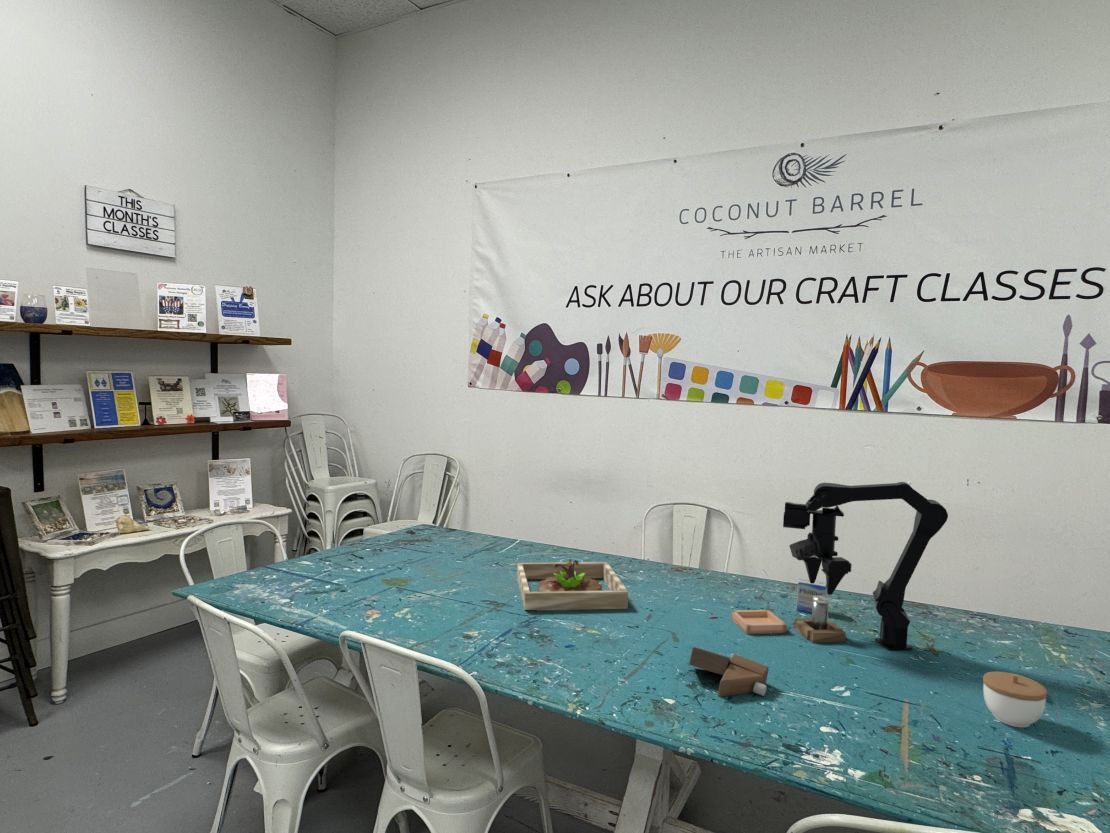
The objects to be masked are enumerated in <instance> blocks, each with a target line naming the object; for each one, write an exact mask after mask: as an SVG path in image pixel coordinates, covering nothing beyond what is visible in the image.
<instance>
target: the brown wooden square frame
mask: <svg viewBox="0 0 1110 833" xmlns="http://www.w3.org/2000/svg"><path fill="white" fill-rule="evenodd" d="M811 622H812V617H810V618H806V617H805V618H794V619H793V628H794V629H795V632H797V633H800V634H799V635H800V636H802V637H803V638H804V637H805V638H804V639H806V640H808V641H810V642H811V643H813V642H814V643H838V642H839V643H842V642H846V631H845V630H844V628H842V627H841V626H840V625H838V624H837V623H835V622H834V621H832V620H829V619H828V626H827V630H814V629H813V628H811Z"/></svg>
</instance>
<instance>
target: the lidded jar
mask: <svg viewBox="0 0 1110 833" xmlns="http://www.w3.org/2000/svg"><path fill="white" fill-rule="evenodd" d="M982 681H983V686H982V691H983V692H982V693H983V698H984V703H985V705H986V707H987V708H988V710H989V711H990V712H991V713H992V715H993V717H994V718H995V719H996V720H997V721H999V722H1001V723H1002V724H1004V725H1007V726H1010V727H1015V728H1029V727H1030V726H1031V725H1032V724H1034V723H1036V722H1038V720H1040V718H1041V717H1042V715H1043V712H1044V711H1045V706H1046V700H1047V695H1048V691H1047V689H1046V687H1045V686H1044V685H1042V684H1041V683H1040V682H1038V681H1035V680H1033V679H1032V678H1028V677H1026V676H1024V675H1020V674H1016V673H1011V672H1006V671H989V672H986V673H984V674H983V676H982Z"/></svg>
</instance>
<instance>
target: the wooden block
mask: <svg viewBox="0 0 1110 833" xmlns="http://www.w3.org/2000/svg"><path fill="white" fill-rule="evenodd" d="M688 664H689V665H690V666H692V667H695V668H698V669H702V670H703V671H708V672H710V673H711V672H712V673H714V674H718V675H721V679H720V681H719V686H718V694H717V696H718V697H725V696H733V695H740V694H747V693H755V694H757V695H759V696H762V697H764V696H765V695H766V693H767V689H768V688H767V687H768V686H767V685H766V683H767V679H768V674H769V666H767V665H764V664H762V663H759V662H756V661H755V660H752V659H749V658H746V657H744V656H741V655H739V654H737V653H733V654H732V656H731V657H728V656H726V655H723V654H720V653H716V652H712V651H710V650H706V649H703V648H699V647H697V646H693V647H692V648H691V653H690V658H689V662H688Z"/></svg>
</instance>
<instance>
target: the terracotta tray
mask: <svg viewBox="0 0 1110 833" xmlns="http://www.w3.org/2000/svg"><path fill="white" fill-rule="evenodd" d="M730 613H731V614H730V619H731V620H732V621H733V623H735V624H736V625H737V626H738V627H739V628H740V629H741V630H742V631H743V632H744V633H745V634H746V635H756V634H757V635H761V634H762V635H763V634H766V635H767V634H787V626H788V625H787V624H786V622H784V621H783V620H782V619H780V618H779V617H778V616H776V614H774V613H773V612H771V610H769V609H757V610H756V609H755V610H753V609H750V610H749V609H747V610H745V609H744V610H731V611H730Z"/></svg>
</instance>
